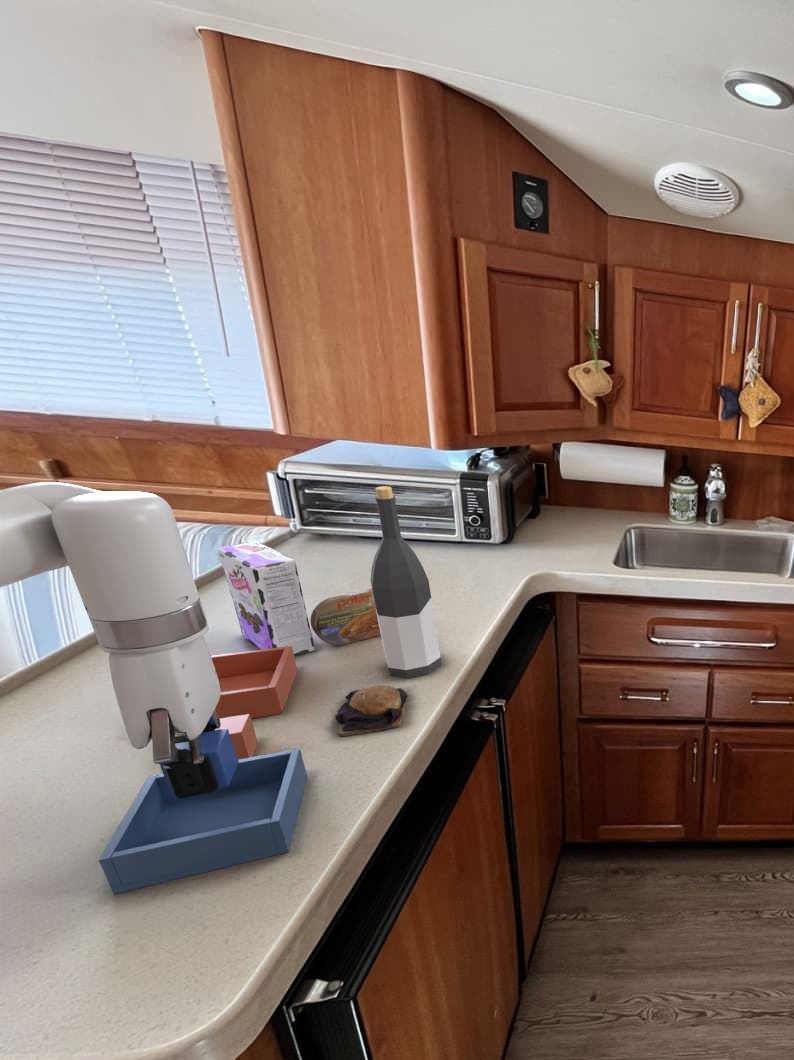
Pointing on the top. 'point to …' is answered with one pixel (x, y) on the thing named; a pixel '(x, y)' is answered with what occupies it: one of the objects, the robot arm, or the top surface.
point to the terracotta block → (241, 734)
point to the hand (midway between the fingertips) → (205, 776)
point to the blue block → (213, 756)
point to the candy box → (267, 596)
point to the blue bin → (207, 824)
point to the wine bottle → (402, 599)
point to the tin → (346, 618)
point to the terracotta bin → (254, 681)
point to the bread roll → (371, 710)
